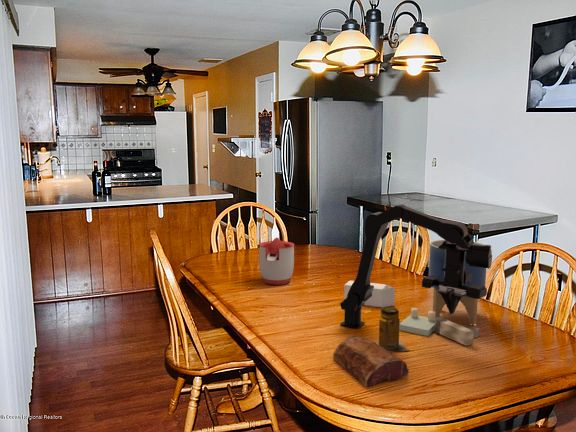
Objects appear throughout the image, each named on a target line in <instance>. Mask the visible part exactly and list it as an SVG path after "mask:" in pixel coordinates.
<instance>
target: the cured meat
mask: <svg viewBox="0 0 576 432" xmlns="http://www.w3.org/2000/svg"><path fill="white" fill-rule="evenodd" d="M376 343H377V342H374V341H371V340H370V339H367V338H365V337H361V336H358V335H353V336H348V337H347V338H346V339H345V340H343V341H342V342H341V343H340V344H339V345H338V346H337V347H336V348H335V350H334V352H333V357H332V358H333V360H334V361H335V362H336V363H337V364H338V365H339V366H341V368H342V369H344V370H345V371H346V372H347V373H349V374H350V375H351V376H352V377H354V378H355V379H356V380H358V382H360V383H361V384H362V385H363V386H364V387H365V388H366V389H367V388H372V387H374V386H375V384H379V383H380V382H383V381H384V380H387V381H388V382H389V383H394V382H397V381H401V380H403V379H404V378H407V377H408V375H409V373H410V372H409V371H410V369H409V368H408V365H407V363H406V362H405V361H404V360H402V359H400V358H399V357H397V356H396V355H395V354H393V353H392V352H389V351H388V350H386V349H385V348H384V347H382V346H380V345H378V344H376Z"/></svg>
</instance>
